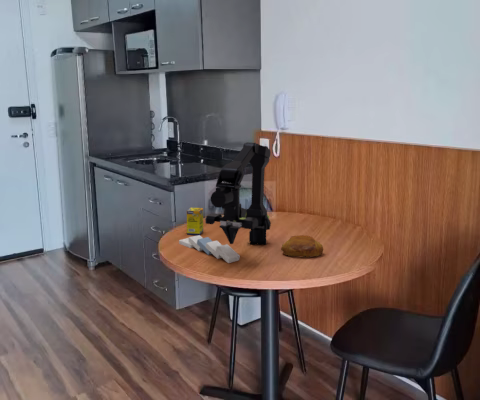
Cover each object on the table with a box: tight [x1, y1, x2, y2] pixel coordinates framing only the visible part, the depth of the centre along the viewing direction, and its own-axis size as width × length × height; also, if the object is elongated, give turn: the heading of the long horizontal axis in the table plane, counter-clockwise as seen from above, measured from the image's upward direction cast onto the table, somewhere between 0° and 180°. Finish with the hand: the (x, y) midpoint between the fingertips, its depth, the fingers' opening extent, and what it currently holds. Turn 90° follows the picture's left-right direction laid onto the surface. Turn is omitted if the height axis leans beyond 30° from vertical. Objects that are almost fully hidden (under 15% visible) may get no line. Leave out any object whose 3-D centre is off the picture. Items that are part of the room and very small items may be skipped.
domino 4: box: [206, 240, 223, 259], centre depth 183 cm, size 2×5×8 cm
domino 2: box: [188, 234, 204, 252], centre depth 192 cm, size 2×5×8 cm
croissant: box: [281, 234, 324, 258], centre depth 186 cm, size 14×16×8 cm
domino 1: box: [178, 237, 195, 249], centre depth 196 cm, size 2×5×8 cm
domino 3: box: [197, 236, 213, 256], centre depth 187 cm, size 2×5×8 cm
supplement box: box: [186, 207, 204, 236], centre depth 211 cm, size 6×6×11 cm
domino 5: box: [216, 243, 241, 264], centre depth 178 cm, size 2×5×8 cm
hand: (231, 243), depth 176 cm, fingers closed
